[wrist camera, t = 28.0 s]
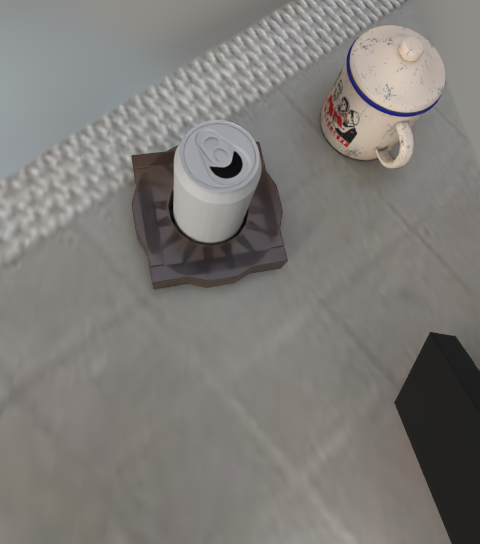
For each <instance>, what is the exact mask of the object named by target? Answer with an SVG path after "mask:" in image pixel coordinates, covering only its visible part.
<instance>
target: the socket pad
mask: <svg viewBox="0 0 480 544" xmlns="http://www.w3.org/2000/svg"><path fill="white" fill-rule="evenodd" d="M256 144H257V147H258V150H259V155H260V159H261V167H262V168H261V176H260V179H259V182H258V184H257V187H256V189H255V192H254V194H253V197H252V199H251V202H250V204H249V207H248V209H247V212H246V214H245V217H244V223H243V228H242V229H241V231H240V232H239V234H238V235H237V236H236V237H234V238H232V239H231V240H229V241H227V242H226V243H223V244H216V245H209V246H208V245H203V244H199V243H194V242H192V241H191V240H189V239H188V238H186V237H185V236H183V235H182V234H180V233H179V231H178V230H177V228H176V227H175V225H174V224H173V222H172V221H171V216H170V209H171V205H172V202H173V201H174V156H175V152H176V149H177V147H178V146H176V147H174V148H172V149H170V150H168V151H166V152H159V153H150V154H141V155H132V156H131V157H132V163H133V169H134V175H135V181H136V190H135V194H134V198H133V201H132V210H133V216H134V222H135V228H136V234H137V239H138V242H139V243H140V245H141V246H142V248H143V250H144V251H145V253H146V254H147V256H148V260H149V266H150V272H151V279H152V285H153V289H158V288H164V287H170V286H176V285H182V284H192V285H197V286H202V287H212V286H218V285H224V284H230V283H234V282H236V281H238V280H240V279H241V278H243V277H244V276H246V275H248V274H249V273H254V272H260V271H266V270H272V269H279V268H281V267H282V266H283V265H284V264H285V263H286V262H287V257H286V252H285V248H284V244H283V240H282V236H281V232H280V224H281V218H282V207H281V202H280V198H279V194H278V190H277V186H276V184H275V183H274V181H273V180H272V178H271V177H270V176H269V174H268V173H267V171H266V169H265V165H264V160H263V156H262V152H261V148H260V144H259V142H256Z"/></svg>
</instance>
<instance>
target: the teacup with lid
mask: <svg viewBox="0 0 480 544" xmlns="http://www.w3.org/2000/svg"><path fill="white" fill-rule="evenodd" d="M444 85H445V69H444V65H443V62H442V60H441V57H440V55H439V54H438V52H437V50H436V49H435V48H434V46H433V45H432V44H431V43H430V42H429V41H428V40H427V39H425V38H424V37H423V36H421V35H420V34H418V33H416V32H414V31H412V30H410V29H407V28H404V27H400V26H394V25H385V26H379V27H375V28H372V29H370V30H368V31H366V32H365V33H363V34H362V35H361V36H360V37H358V38H357V39H356V40H355V41H354V43H353V44H352V46H351V47H350V49H349V52H348V55H347V61H346V63H345V65H344V66H343V68H342V70H341V72H340V74H339V76H338V78H337V80H336V82H335V84H334V85H333V87H332V89H331V91H330V93H329V95H328V97H327V99H326V101H325V103H324V105H323V107H322V110H321V117H320V118H321V126H322V130H323V133H324V135H325V137H326V138H327V140H328V141H329V143H330V144H331V145H332V146H333V147H334V148H335V149H336V150H338V151H339V152H340V153H342V154H344V155H346V156H348V157H351V158H354V159H358V160H372V159H376V158H378V159H379V161H380V162H381V163H382V165H384V166H385V167H387V168H399V167H402V166H404V165H405V164H406V163H407V162H408V161H409V160H410V158H411V156H412V153H413V146H414V140H413V134H412V131H411V127H412V126H413V124H414V123H415V122H416V121H417V120H418V119H419V118H420V117H421V115H422V114H423V113H424V112H426V111H428V110H429V109H431V108H432V107H433V106H434V105H435V104H436V103H437V101H438V100H439V98H440V96H441V94H442V92H443V89H444ZM398 141H399V142H400V149H399V154H398V156H397V157H396V159H393V157H392V156H391V154H390V152H389V151H390V150H391V149H392V148H393V147H394V146H395V144H396V143H397V142H398Z"/></svg>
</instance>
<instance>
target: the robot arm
mask: <svg viewBox="0 0 480 544" xmlns="http://www.w3.org/2000/svg"><path fill="white" fill-rule="evenodd" d="M394 403H395V405H396V408H397V410H398V413H399V415H400V418H401V420H402V423H403V425H404V427H405V430H406V432H407V435H408V437H409V440H410V442H411V445H412V447H413V450H414V452H415V454H416V457H417V459H418V462H419V464H420V467H421V469H422V472H423V474H424V477H425V479H426V482H427V484H428V486H429V489H430V491H431V494H432V496H433V499H434V501H435V504H436V506H437V509H438V511H439V513H440V516H441V518H442V521H443V523H444V526H445V528H446V531H447V533H448V536H449V538H450V540H451V543H452V544H480V371H479V370H478V368H477V367H476V365H475V364H474V362H473V361H472V360H471V358H470V357H469V355H468V354H467V352H466V351H465V349H464V348H463V346H462V345H461V343H460V342H459V341H458V339H457V338H456V336H450V335H445V334H439V333H433V332H430V334H429V336H428V337H427V339H426V341H425V343H424V345H423V347H422V349H421V351H420V353H419V355H418V357H417V359H416V361H415V363H414V365H413V367H412V369H411V371H410V373H409V375H408V377H407V379H406V381H405V383H404V385H403V387H402V389H401V391H400V393H399V395H398V396H397V398H396V400H395V402H394Z"/></svg>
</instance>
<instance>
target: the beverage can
mask: <svg viewBox="0 0 480 544" xmlns="http://www.w3.org/2000/svg"><path fill="white" fill-rule="evenodd" d="M261 168H262V167H261V159H260V155H259V150H258V147H257V144H256V142H255V140H254V139H253V137H252V136H251V135H250V134H249V133H248V132H247V131H246V130H245V129H243V128H242V127H240V126H239V125H237V124H235V123H232V122H229V121H225V120H209V121H205V122H202V123H199V124H197V125H195V126H194V127H193V128H191V129H190V130H189V131H188V132H187V133H186V135H185V136H184V138H183V139H182V140H181V142H180V143H179V145H178V147H177V149H176V152H175V156H174V201H173V218H174V223H175V226H176V228H177V230H178V231H179V233H180V234H182V235H183V236H185V237H186V238H188V239H189V240H191V241H192V242H194V243H199V244H203V245H208V246H209V245H216V244H223V243H226V242H227V241H229V240H231V239H232V238H234V237H235V236H236V234H237V233H238V231H239V229H240V227H241V224H242V222H243V219H244V217H245V214H246V212H247V209H248V207H249V204H250V202H251V199H252V197H253V194H254V192H255V189H256V187H257V184H258V182H259V179H260V176H261Z"/></svg>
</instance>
